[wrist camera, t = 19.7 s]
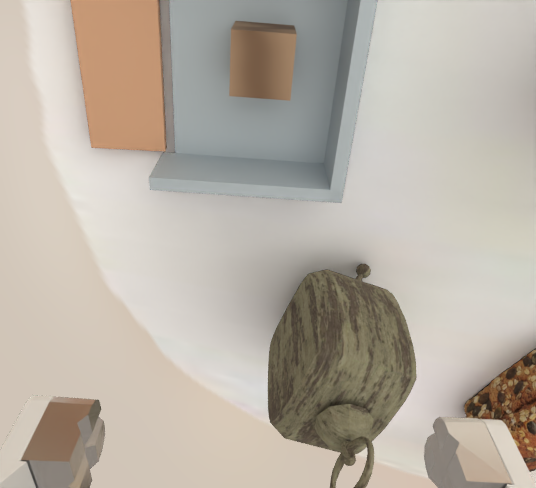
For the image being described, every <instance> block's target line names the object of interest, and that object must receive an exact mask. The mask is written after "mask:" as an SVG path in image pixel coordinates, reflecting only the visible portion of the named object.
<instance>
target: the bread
mask: <svg viewBox="0 0 536 488" xmlns="http://www.w3.org/2000/svg"><path fill="white" fill-rule="evenodd" d="M464 408H465V414H466V415H467V416H466V418H478V419H492V420H502V421H503V422H504V423H505V424H506V426H507V428H508V430H509V432H510V434H511V436H512V438H513V440H514V442H515V444H516V446H517V448H518V450H519V452H520V454H521V456H522V458H523V460H524V462H525V464H526V466H527V468H528V470H529V472H531V471H534V470H536V349H535V350H533V351H532V352H530V353H529V354H528V355H527V356H524V357H523V359H521V360H520V361H518V362H517V363H516V364H514V365H513V366H511V367H510V368H509V369H507V370H506V371H504V372H503V373H501V374H500V375H499V376H498V377H496V378H495V379H493V380H492V381H491V383H490V384H489V385H488V386H486V387H485V388H484V389H483V390H482V391H480V392H479V393H478V395H477V396H475V397H474V398H472V399H469V400H468V401H467V403H466V404H465V406H464Z"/></svg>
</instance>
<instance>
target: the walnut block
mask: <svg viewBox="0 0 536 488" xmlns="http://www.w3.org/2000/svg"><path fill="white" fill-rule="evenodd" d="M296 37H297V33H296V30H295V26H294V25H283V24H271V23H258V22H246V21H235V23H234V24H233V26H232V28H231V48H230V87H229V96H234V97H247V98H260V99H274V100H287V101H290V99H291V89H292V79H293V68H294V58H295V48H296Z"/></svg>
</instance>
